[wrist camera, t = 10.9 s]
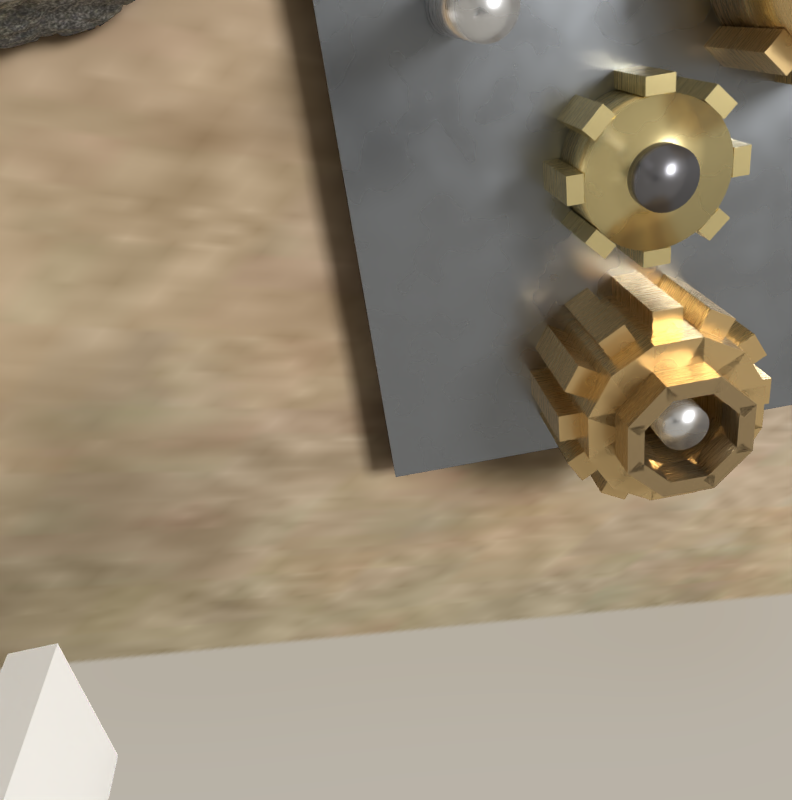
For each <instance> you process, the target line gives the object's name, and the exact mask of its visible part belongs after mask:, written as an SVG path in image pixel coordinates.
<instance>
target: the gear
mask: <svg viewBox="0 0 792 800" xmlns="http://www.w3.org/2000/svg"><path fill="white" fill-rule="evenodd" d="M564 305H565V306H566V307H567V309H568V310H569V311H570V313H571V314H572V316H573V317H574V319H573V320H572V321H570V322H569V323H568V324H567V326H566V328H565V330H561V329H558V328H555V327H553V326H550V325H547V326H546V328H545V330H544V332H543V334H542V335H541V337H540V339H539V341H538V343H537V345H536V347H535V348H536V350H537V351H538V353H539V354H540V356H541V357H542V359H543V360H544V362H545V363H546V365H547V366H548V368H545V369H539V370H534V371H530V377H531V392H532V395H533V397H534V399H535V401H536V402H537V404H538V406H539V407H540V409H541V411H542V412H541V413H539V414H540V416H541V417H542V419H543V421H544V423H545V424H546V426H547V428H548V430H549V431H550V433H551V435H552V437H553V438H554V440H555V442H556V443H557V445H558V447H559V449H560V450H561V452H562V454H563V456H564V457H565V459H566V461H567V463H568V464H569V465H570V466H571V467H572V469H573V470H574V471H575V472H576V474H577V475H578V476H579V477H580V478H581V480H584V479H585V478H587V477H588V476H590V475H591V477H592V478H593V480H594V482H595V483H596V485H597V487H598V488H599V490H600V491H601V493H604V494H608V495H611V496H615V497H618V498H621V499H625V498H626V496H627V495H628V493H629V494H633V495H636V496H639V497H643V498H646V499H649V500H655V499H660V498H666V497H671V496H676V495H682V494H687V493H693V492H697V491H700V490H706V489H711V488H715V487H716V486H717V485H718V484H719V483H720V482H721V481H722V480H723V479H724V478H725V477H726V476H727V475H728V474H729V473H730V472H731V471H732V470H733V469H734V468H735V467H736V466H737V465H738V464H739V463H740V462H741V461H742V460H743V459H744V458H745V457H747V456H748V455H749V454H750V453H751V452H752V451H753V441H754V439H755V437H756V436H757V434H758V433H759V431H760V430H761V428H762V422H763V412H764V404H769V399H770V389H771V380H772V378H771V377H770V376H768V375H767V374H766V373H765V372H763V371H762V370H761V369H760V368H758V367H757V366H756V365H754V363H756V362H757V361H759V360H760V359H762V358H763V357H765V356H766V355H767V354H766V353H765V351H764V349H763V347H762V346H761V344H760V342H759V341H758V339H757V337H756V336H755V334H754V333H752V332H751V331H750V330H748V329H747V328H746V327H744V326H743V325H741V324H740V323H739V322H737V321H736V318H734V317H733V316H732V315H730V314H729V313H727V312H726V311H725V310H723V309H722V308H721V307H719V306H718V305H716V304H715V303H714V302H712V301H711V300H709V299H708V298H707V297H705V296H704V295H703V294H701V293H700V292H698V291H697V290H696V289H694V288H693V287H692V286H690V285H689V284H687V283H686V282H683V281H681V280H678V279H676V278H673V277H671V276H668V275H665V274H663V276H662V278H661V279H660V281H659V283H658V285H657V286H656V285H655V284H654V283H652V282H651V281H650V280H649V279H647V278H646V277H645V276H644V275H642V274H641V273H640V272H634V273H629V274H623V275H617V276H612V295H611V296H605V297H603V298H602V299H600V300H599V299H598V298H597V297H596V296H595V295H594V294H593V293H592V292H591V291H590V290H589V289H588V288H586V289H584V290H583V291H581V292H580V293H579V294H577V295H576V296H575V297H573V298H572V299H571V300H569V301H568V302H567V303H565V304H564ZM688 398H692V399H693V400H694V401H695V402H696V404H697V405H698V406H699V407H700V408H701V409H702V410H703V411H704V412H705V413H706V414H707V416H708V418H709V428H708V431H707V433H706V435H705V437H704V438H703V439H702V440H701V441H700V442H699V443H698V444H696V445H695V446H693V447H691V448H688V449H685V450H674V449H671V448H669V447H667V446H666V445H665V444H664V443H663V442H662V441H661V439H660V438H659V437H658V436H657V434H656V433H655V432H654V431H653V430H652V428H651V427H650V425H651V424H652V423H653V422H654V421H655V420H656V419H657V418H658V417H659V416H660V415H661V414H662V413H663V412H664V411H665V409H666V408H667V407H668V406H669V405H670V404H671V403H672V402H673V401H677V400H683V399H688Z"/></svg>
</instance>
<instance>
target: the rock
mask: <svg viewBox="0 0 792 800" xmlns="http://www.w3.org/2000/svg"><path fill="white" fill-rule="evenodd" d="M133 1H135V0H0V48H11V47H15V46H19V45H23V44H26V43H29V42H34V41H37V40H38V39H39V38H40V37H41V36H52V35H54V34H56V33H57V34H59V35H61V36H68V35H73V34H76V33H79V32H83V31H85V30H91V29H94V28H95V27H96V26H97V25H99V26H101V25H103V24H104V23H105V22H107V21H108V20H109V19H110V18H112V17H113V16H114V15H116V14H117V13H118V12H120V11H121V9H122V6H123V5H128V4H130V3H131V2H133Z"/></svg>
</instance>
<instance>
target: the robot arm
mask: <svg viewBox="0 0 792 800" xmlns="http://www.w3.org/2000/svg"><path fill="white" fill-rule="evenodd" d="M117 757H118V755H117V753H116V751H115V749H114V747H113V746H112V743H111V742H110V740H109V738H108V736H107V734H106V732H105V730H104V729H103V727H102V725H101V723H100V721H99V720H98V718H97V716H96V714H95V712H94V710H93V708H92V706H91V704H90V703H89V701H88V699H87V697H86V695H85V693H84V691H83V690H82V688H81V686H80V684H79V682H78V680H77V678H76V677H75V675H74V673H73V671H72V669H71V667H70V665H69V664H68V662H67V660H66V658H65V656H64V654H63V652H62V651H61V649H60V647H59V645H58V643H57V644H52V645H48V646H43V647H38V648H33V649H28V650H24V651H19V652H14V653H9V654H8V655H7V657H6V659H5V662H4V664H3V667H2V669H1V672H0V800H108V799H109V794H110V790H111V785H112V781H113V776H114V771H115V767H116V762H117Z"/></svg>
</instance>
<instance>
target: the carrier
mask: <svg viewBox="0 0 792 800" xmlns="http://www.w3.org/2000/svg"><path fill="white" fill-rule="evenodd" d="M312 1H313V7H314V13H315V18H316V24H317V30H318V35H319V41H320V47H321V53H322V58H323V64H324V70H325V76H326V81H327V87H328V93H329V99H330V104H331V110H332V116H333V122H334V127H335V133H336V139H337V145H338V150H339V156H340V162H341V168H342V173H343V179H344V185H345V190H346V196H347V202H348V208H349V213H350V219H351V225H352V231H353V236H354V242H355V248H356V254H357V259H358V265H359V271H360V277H361V282H362V288H363V294H364V300H365V305H366V311H367V317H368V323H369V328H370V334H371V340H372V345H373V351H374V357H375V363H376V368H377V374H378V380H379V386H380V391H381V397H382V403H383V409H384V414H385V420H386V426H387V432H388V437H389V443H390V449H391V455H392V460H393V465H394V470H395V475H396V477H398V476H404V475H409V474H415V473H420V472H426V471H431V470H437V469H442V468H448V467H453V466H459V465H464V464H470V463H475V462H481V461H486V460H491V459H497V458H502V457H508V456H513V455H519V454H524V453H530V452H535V451H541V450H546V449H552V448H557V447H558V445H557V443H556V442H555V440H554V438H553V437H552V435H551V433H550V431H549V430H548V428H547V426H546V424H545V423H544V421H543V419H542V417H541V416H540V414H539V413H541V412H542V411H541V409H540V407H539V406H538V404H537V402H536V401H535V399H534V397H533V395H532V392H531V377H530V371H534V370H539V369H545V368H548V366H547V365H546V363H545V362H544V360H543V359H542V357H541V356H540V354H539V353H538V351H537V350H536V348H535V347H536V345H537V343H538V341H539V339H540V337H541V335H542V334H543V332H544V330H545V328H546V326H547V325H550V326H553V327H555V328H558V329H561V330H565V328H566V326H567V324H568V323H569V322H570V321H572V320H573V319H574V317H573V316H572V314H571V313H570V311H569V310H568V309H567V307H566V306H565V305H564V304H565V303H567V302H568V301H569V300H571V299H572V298H573V297H575V296H576V295H577V294H579V293H580V292H581V291H583V290H584V289H586V288H588V289H589V290H590V291H591V292H592V293H593V294H594V295H595V296H596V297H597V298H598V299H599V300H600V299H602V298H603V297H605V296H611V295H612V276H617V275H623V274H629V273H634V272H640V273H641V274H642V275H644V276H645V277H646V278H647V279H649V280H650V281H651V282H652V283H654V284H655V285H656V286H657V285H658V283H659V281H660V279H661V278H662V276H663V274H665V275H668V276H671V277H673V278H676V279H678V280H681V281H683V282H686V283H687V284H689V285H690V286H692V287H693V288H694V289H696V290H697V291H698V292H700V293H701V294H703V295H704V296H705V297H707V298H708V299H709V300H711V301H712V302H714V303H715V304H716V305H718V306H719V307H721V308H722V309H723V310H725V311H726V312H727V313H729V314H730V315H732V316H733V317H734V318H736V321H737V322H739V323H740V324H741V325H743V326H744V327H746V328H747V329H748V330H750V331H751V332H752V333H754V334H755V336H756V337H757V339H758V341H759V342H760V344H761V346H762V347H763V349H764V351H765V353H766V354H767V355H766V356H765V357H763V358H762V359H760V360H759V361H757V362H756V363H754V365H756V366H757V367H758V368H760V369H761V370H762V371H763V372H765V373H766V374H767V375H768V376H770V377H771V378H772V380H771V389H770V399H769V404H764V410H765V409H771V408H776V407H782V406H787V405H792V0H312ZM650 427H651V428H652V430H653V431H654V432H655V433H656V434H657V436H658V437H659V438H660V439H661V441H662V442H663V443H664V444H665V445H666V446H667V447H669V448H671V449H674V450H685V449H688V448H691V447H693V446H695V445H696V444H698V443H699V442H700V441H701V440H702V439H703V438H704V437H705V435H706V433H707V431H708V428H709V418H708V416H707V414H706V413H705V412H704V411H703V410H702V409H701V408H700V407H699V406H698V405H697V404H696V402H695V401H694V400H693V399H692V398H688V399H683V400H677V401H673V402H672V403H671V404H670V405H669V406H668V407H667V408H666V409H665V411H664V412H663V413H662V414H661V415H660V416H659V417H658V418H657V419H656V420H655V421H654V422H653V423H652V424H651V425H650Z"/></svg>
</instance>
